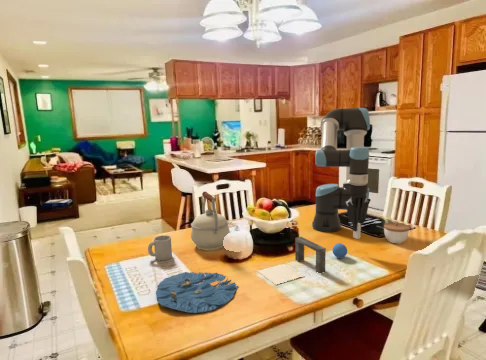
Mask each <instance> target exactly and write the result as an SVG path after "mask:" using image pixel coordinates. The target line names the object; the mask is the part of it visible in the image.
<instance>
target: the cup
mask: <svg viewBox="0 0 486 360" xmlns="http://www.w3.org/2000/svg"><path fill="white" fill-rule="evenodd" d="M171 237H172V236H170V235H166V234H163V235H157V236H155V237H154V238H153V241H151V242H149V244H148V246H147V251H148V254H149V256H151V257H154V258H155V260H156V261H160V260H163V261H168V260H171V258H172V257H173V249H172V238H171ZM153 246H154V252H153V249H152V248H153ZM167 259H168V260H167Z"/></svg>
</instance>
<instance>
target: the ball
mask: <svg viewBox="0 0 486 360" xmlns="http://www.w3.org/2000/svg"><path fill="white" fill-rule="evenodd" d="M347 253H348V248H347V247H346V245H345V244H343V243H339V242H338V243H336V244H334V246H332V254H333V256H335V257H336V258H337V259H342V258H345V256H347Z"/></svg>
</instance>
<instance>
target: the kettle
mask: <svg viewBox="0 0 486 360" xmlns="http://www.w3.org/2000/svg"><path fill="white" fill-rule="evenodd" d="M201 195H202V198H203V200H202V205H201V210H202V211H201V212H202V213H201V214H199V215H197V216H196V217H195V218H194V219H193V221H192V222H191V223H190V226H191V230H190V238H191V241H192V242H193V243H194V245H195V247H196V248H198V249H199V250H202V251H216V250H220V249H223V248H224V247H223V240H224V237H225V236H226V235H227V234H228V233H230V234H231V232H230V228H229V223H230V222H229V220H227V219H226V217H225V216H224V215H222V214H220V213H218V212H217V210H216V200H217V199H216V197H215V196H213V195H211V194H210V193H208V192H207V191H203V192H202V194H201ZM206 201H208V202H210V203H211V208H212V209H211V208H208V209H207V210H206Z"/></svg>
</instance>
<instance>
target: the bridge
mask: <svg viewBox="0 0 486 360" xmlns="http://www.w3.org/2000/svg"><path fill="white" fill-rule="evenodd" d="M294 239H295V241H294V242H295V243H294V244H295V251H294V252H295V253H294V255H295V261H296V262H302V260H303V261H305V247H307V248H309V249H311V250H313V251H315V273H317V272H318V273H321V274H324V273H326V251H327V249H326V247H324V246H322V245H320V244H318V243H315V242H313V241H311V240H309V239H307V238H305V237H303V236H298V237H295V238H294ZM323 272H324V273H323ZM318 273H317V274H318Z"/></svg>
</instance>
